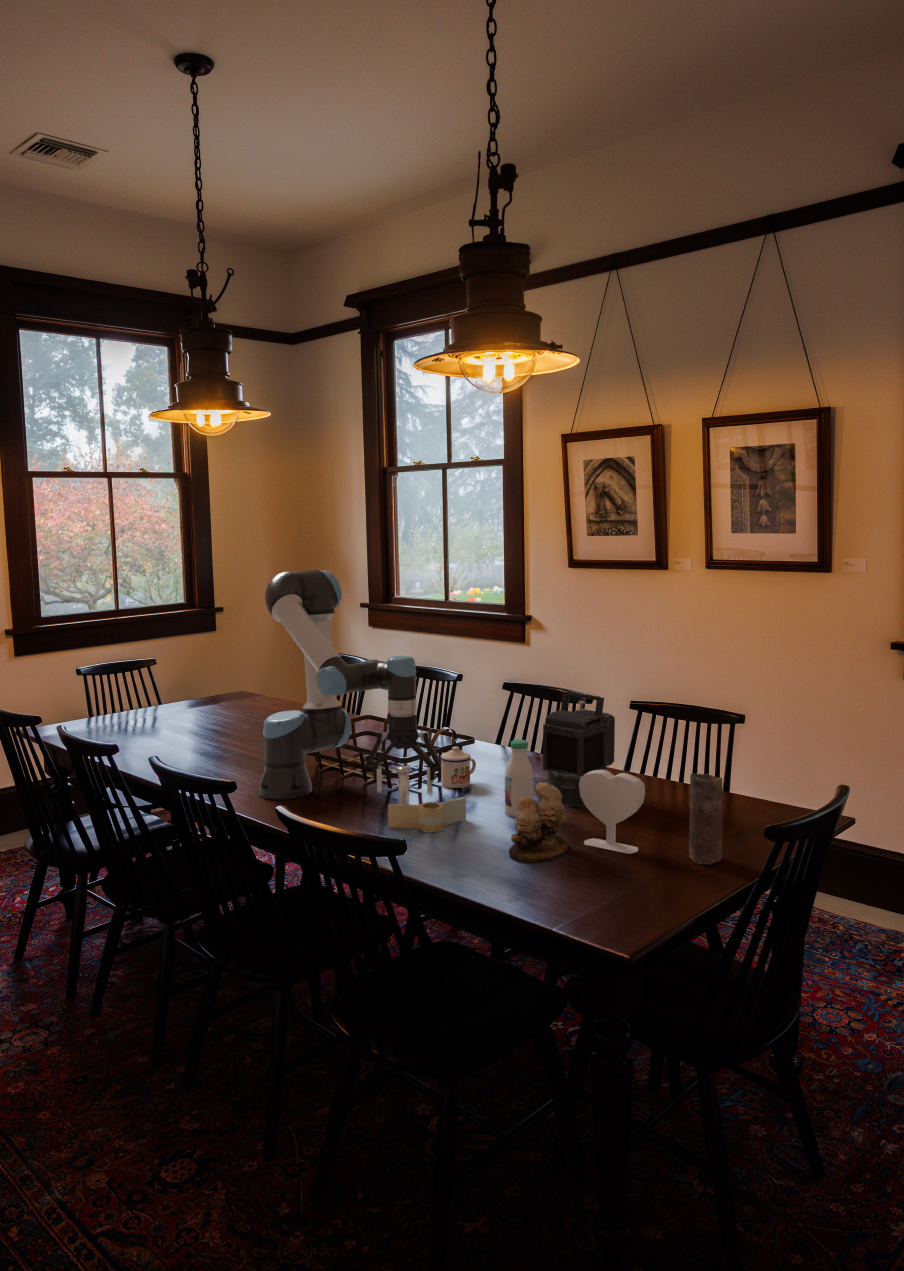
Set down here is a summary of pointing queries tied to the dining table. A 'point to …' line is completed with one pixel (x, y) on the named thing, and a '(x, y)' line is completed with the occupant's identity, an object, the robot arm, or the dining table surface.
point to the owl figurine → (539, 827)
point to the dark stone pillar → (705, 819)
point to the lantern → (576, 745)
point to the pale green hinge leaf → (448, 813)
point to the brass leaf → (414, 815)
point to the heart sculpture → (611, 803)
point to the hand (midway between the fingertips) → (404, 791)
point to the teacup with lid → (456, 768)
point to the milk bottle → (518, 777)
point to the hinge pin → (403, 784)
